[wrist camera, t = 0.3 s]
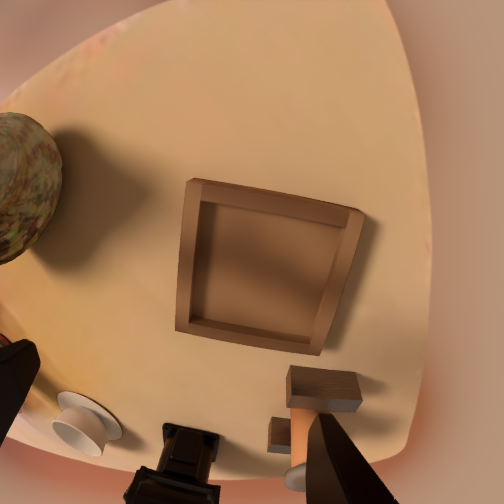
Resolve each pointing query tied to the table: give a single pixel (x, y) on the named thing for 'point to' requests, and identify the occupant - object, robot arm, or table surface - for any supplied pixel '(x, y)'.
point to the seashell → (26, 183)
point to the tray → (262, 265)
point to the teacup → (84, 424)
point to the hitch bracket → (313, 399)
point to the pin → (299, 447)
